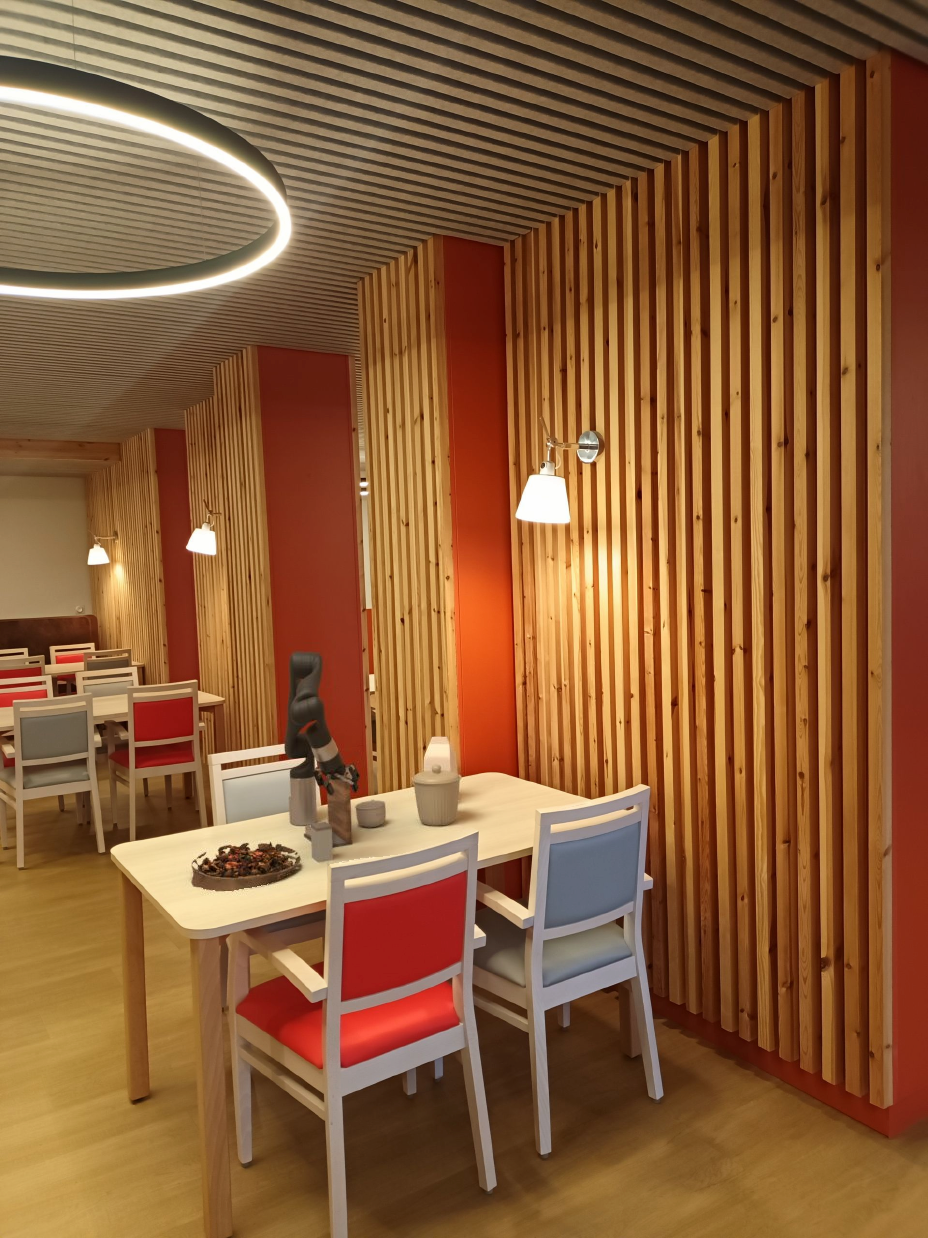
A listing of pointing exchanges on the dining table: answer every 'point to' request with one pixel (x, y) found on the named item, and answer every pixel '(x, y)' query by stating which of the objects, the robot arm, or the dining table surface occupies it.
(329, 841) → the grey box
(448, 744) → the milk
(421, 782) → the canister
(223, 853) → the food dish
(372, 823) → the teacup
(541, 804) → the dining table surface
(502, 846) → the dining table surface
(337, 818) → the wall board
